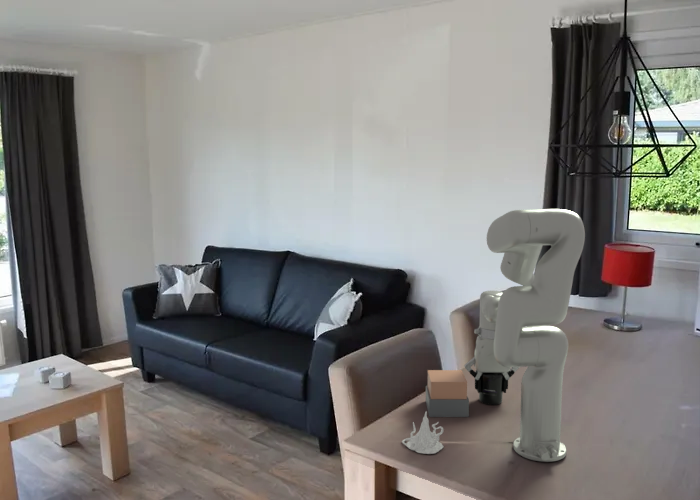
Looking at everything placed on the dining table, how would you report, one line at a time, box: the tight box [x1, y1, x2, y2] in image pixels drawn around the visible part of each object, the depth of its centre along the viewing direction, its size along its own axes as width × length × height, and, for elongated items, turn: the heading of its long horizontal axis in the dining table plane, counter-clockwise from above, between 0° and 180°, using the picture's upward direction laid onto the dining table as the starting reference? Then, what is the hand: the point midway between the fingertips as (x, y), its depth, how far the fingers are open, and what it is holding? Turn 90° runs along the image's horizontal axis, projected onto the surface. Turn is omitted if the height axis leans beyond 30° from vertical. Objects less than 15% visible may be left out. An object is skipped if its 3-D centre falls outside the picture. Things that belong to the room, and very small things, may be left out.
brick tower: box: [425, 369, 470, 418], centre depth 172 cm, size 11×11×10 cm
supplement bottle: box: [478, 373, 503, 406], centre depth 177 cm, size 7×7×12 cm
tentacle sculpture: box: [401, 410, 444, 455], centre depth 149 cm, size 9×12×9 cm
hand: (491, 390), depth 178 cm, fingers closed on supplement bottle, 6 cm apart
